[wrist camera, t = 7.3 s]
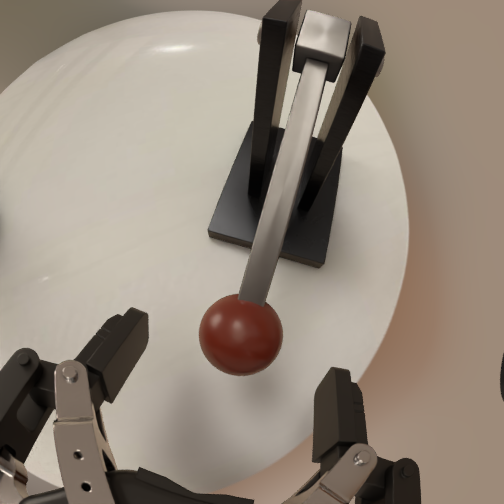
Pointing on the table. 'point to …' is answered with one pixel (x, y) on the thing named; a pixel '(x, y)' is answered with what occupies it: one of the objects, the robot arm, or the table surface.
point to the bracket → (270, 138)
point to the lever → (275, 211)
